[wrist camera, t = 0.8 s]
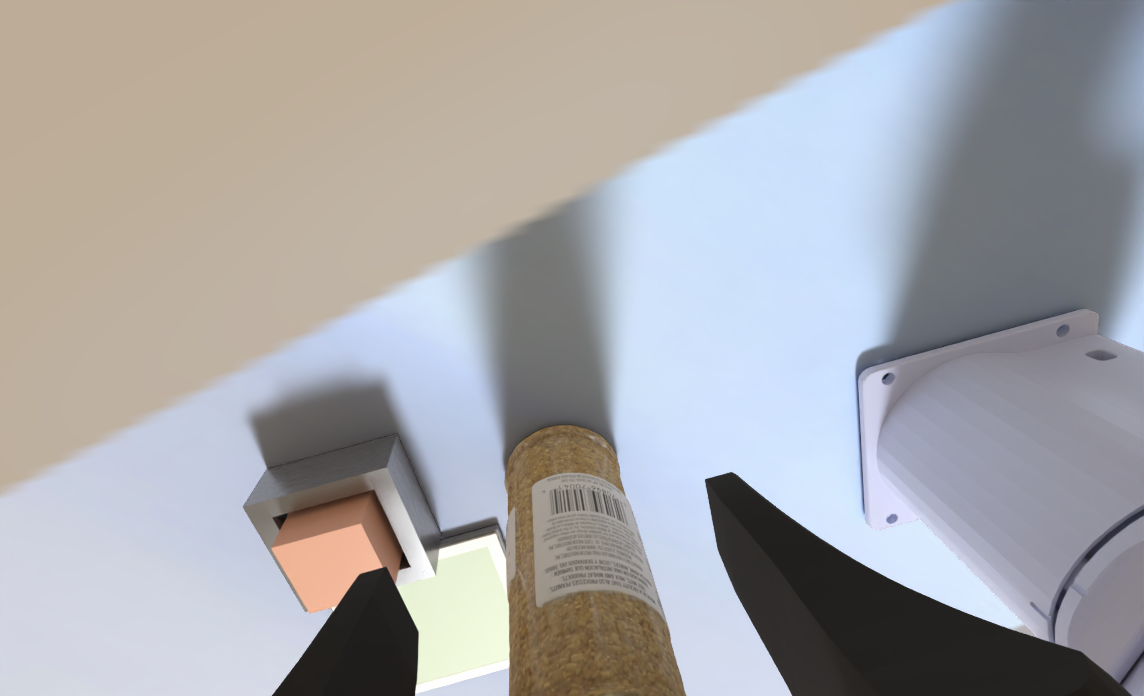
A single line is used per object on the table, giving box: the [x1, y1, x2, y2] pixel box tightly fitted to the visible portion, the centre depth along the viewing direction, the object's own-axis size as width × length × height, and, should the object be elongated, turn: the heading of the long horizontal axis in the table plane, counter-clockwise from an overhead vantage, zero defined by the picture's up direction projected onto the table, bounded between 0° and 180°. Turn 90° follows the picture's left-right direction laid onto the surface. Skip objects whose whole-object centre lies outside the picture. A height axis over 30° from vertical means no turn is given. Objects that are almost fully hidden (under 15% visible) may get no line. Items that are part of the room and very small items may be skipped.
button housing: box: [243, 434, 441, 612], centre depth 22 cm, size 5×5×2 cm
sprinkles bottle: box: [505, 425, 686, 696], centre depth 17 cm, size 5×5×14 cm
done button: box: [271, 490, 403, 614], centre depth 21 cm, size 3×3×2 cm
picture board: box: [331, 524, 510, 694], centre depth 25 cm, size 8×8×1 cm
